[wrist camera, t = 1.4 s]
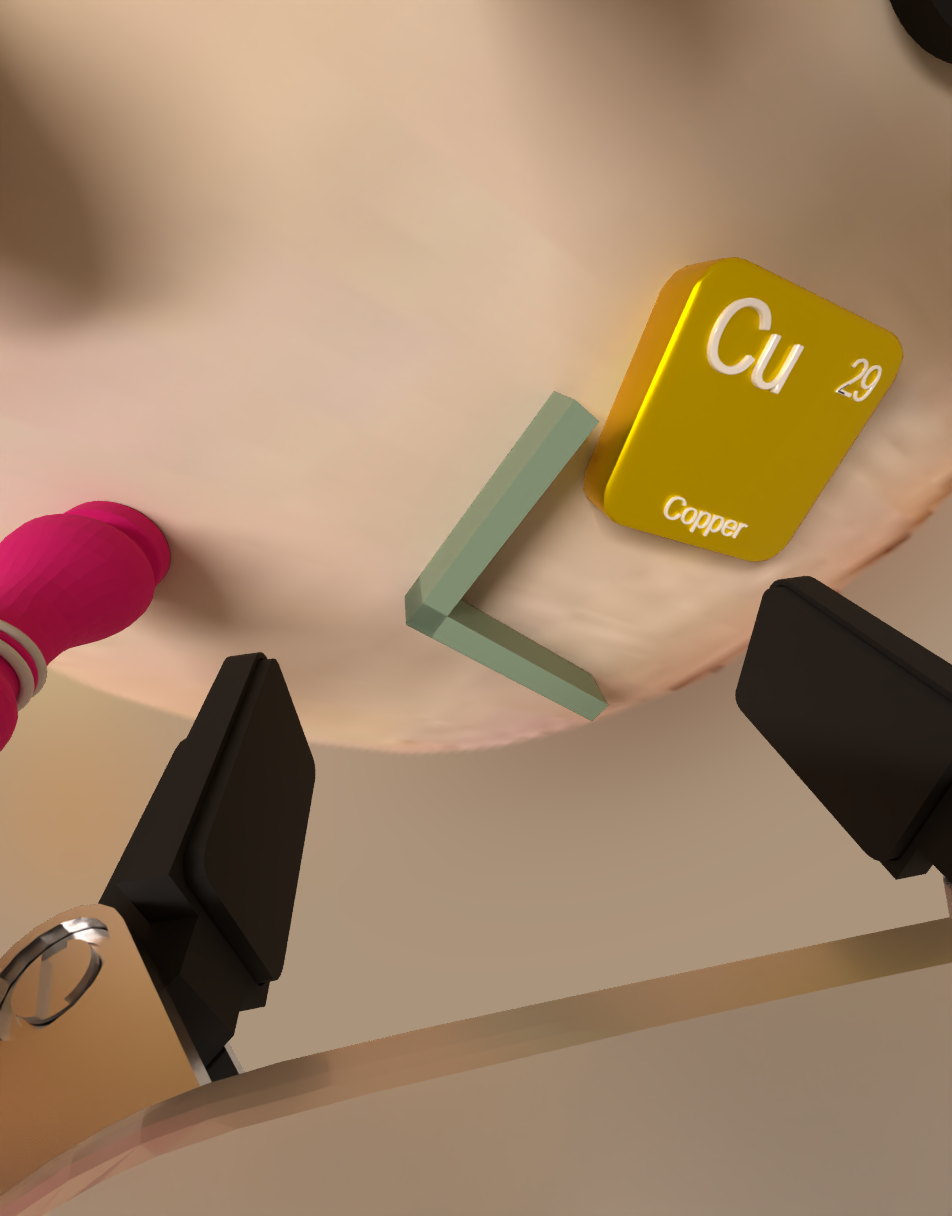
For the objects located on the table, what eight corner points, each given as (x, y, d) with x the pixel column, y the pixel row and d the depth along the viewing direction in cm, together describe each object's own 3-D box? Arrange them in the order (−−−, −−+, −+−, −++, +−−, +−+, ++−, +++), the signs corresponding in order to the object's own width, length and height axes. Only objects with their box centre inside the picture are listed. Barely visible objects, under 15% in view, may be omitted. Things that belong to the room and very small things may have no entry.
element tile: (571, 497, 35) (595, 521, 30) (673, 252, 28) (721, 239, 24) (738, 546, 39) (778, 572, 35) (860, 342, 32) (929, 345, 28)
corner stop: (554, 391, 30) (574, 399, 27) (722, 538, 38) (755, 559, 34) (404, 596, 36) (406, 624, 33) (576, 690, 43) (591, 721, 40)
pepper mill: (203, 568, 33) (-2, 833, 16) (114, 612, 33) (-179, 912, 16) (121, 472, 29) (-265, 680, 12) (22, 523, 30) (-482, 791, 13)
